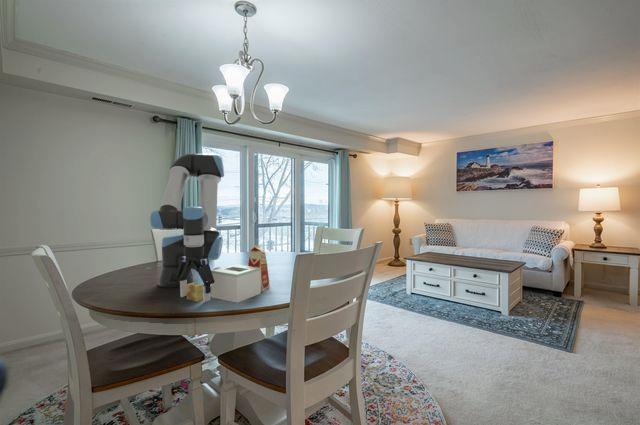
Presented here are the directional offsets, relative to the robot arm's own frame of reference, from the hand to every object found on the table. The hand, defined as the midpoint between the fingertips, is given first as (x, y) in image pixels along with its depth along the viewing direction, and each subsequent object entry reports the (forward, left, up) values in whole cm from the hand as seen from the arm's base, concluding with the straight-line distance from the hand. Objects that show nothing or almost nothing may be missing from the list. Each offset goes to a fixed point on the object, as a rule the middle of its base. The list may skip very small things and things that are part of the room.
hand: (194, 298), depth 133 cm
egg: (-7, +19, 0) cm, 20 cm away
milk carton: (+11, +25, 0) cm, 27 cm away
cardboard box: (0, 0, 0) cm, 0 cm away
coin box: (+11, +12, 0) cm, 16 cm away
